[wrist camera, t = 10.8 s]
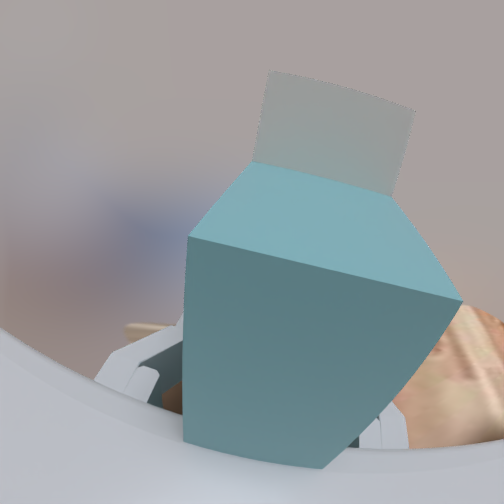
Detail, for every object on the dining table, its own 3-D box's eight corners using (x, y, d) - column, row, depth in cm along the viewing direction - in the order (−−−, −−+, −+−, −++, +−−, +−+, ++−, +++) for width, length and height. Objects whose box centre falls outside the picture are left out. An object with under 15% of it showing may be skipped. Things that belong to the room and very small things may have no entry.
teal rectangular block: (188, 511, 9) (216, 28, 2) (231, 368, 17) (288, 88, 9) (245, 524, 9) (528, 135, 1) (273, 378, 16) (358, 105, 9)
